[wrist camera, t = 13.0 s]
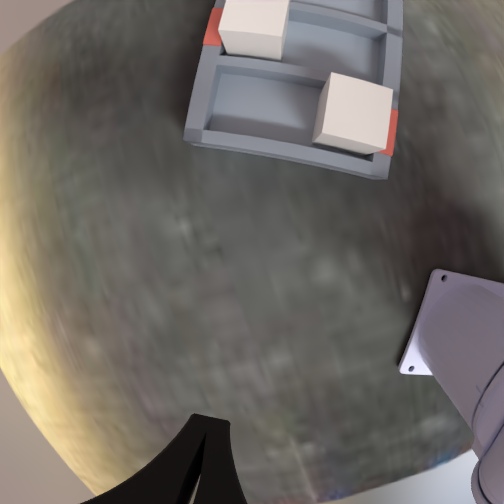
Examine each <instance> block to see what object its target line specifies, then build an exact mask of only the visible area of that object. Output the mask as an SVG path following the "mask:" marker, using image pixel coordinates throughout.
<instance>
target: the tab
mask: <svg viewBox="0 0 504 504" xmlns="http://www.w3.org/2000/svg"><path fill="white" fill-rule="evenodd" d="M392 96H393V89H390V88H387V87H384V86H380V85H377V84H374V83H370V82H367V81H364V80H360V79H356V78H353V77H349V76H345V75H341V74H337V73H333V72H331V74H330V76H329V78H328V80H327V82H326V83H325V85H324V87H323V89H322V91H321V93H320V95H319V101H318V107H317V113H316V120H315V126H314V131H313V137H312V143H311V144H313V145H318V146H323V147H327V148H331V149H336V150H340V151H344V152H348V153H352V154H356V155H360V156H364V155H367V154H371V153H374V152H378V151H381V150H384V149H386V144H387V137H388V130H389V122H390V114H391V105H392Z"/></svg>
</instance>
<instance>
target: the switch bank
mask: <svg viewBox="0 0 504 504" xmlns="http://www.w3.org/2000/svg"><path fill="white" fill-rule="evenodd" d="M225 3H226V0H216V2H215V5H214V8H213V9H212V12H211V15H210V19H209V22H208V26H207V30H206V33H205V37H204V41H203V49H202V53H201V57H200V61H199V65H198V69H197V74H196V78H195V82H194V87H193V91H192V96H191V100H190V105H189V110H188V115H187V120H186V125H185V130H184V135H183V141H185V142H187V143H190V144H192V145H194V146H201V147H209V148H216V149H223V150H230V151H236V152H243V153H249V154H255V155H261V156H267V157H272V158H278V159H283V160H288V161H293V162H298V163H303V164H308V165H313V166H318V167H322V168H327V169H331V170H336V171H340V172H344V173H348V174H353V175H357V176H361V177H365V178H369V179H373V180H384V179H388V173H389V167H390V161H391V156H393V150H394V143H395V135H396V128H397V120H398V110H397V109H398V99H399V88H400V76H401V61H402V38H403V0H292V2H291V1H290V6H289V20H288V28H287V34H286V39H285V44H284V50H283V55H282V60H281V63H279V62H273V61H266V60H259V59H251V58H242V57H232V56H228V54H227V52H226V49H225V46H224V44H223V41H222V39H221V36H220V34H219V31H218V28H219V24H220V21H221V17H222V13H223V10H224V6H225ZM331 72H333V73H337V74H341V75H345V76H349V77H353V78H356V79H360V80H364V81H367V82H370V83H374V84H377V85H380V86H384V87H387V88H390V89H393V96H392V105H391V114H390V122H389V130H388V137H387V144H386V149H384V150H381V151H378V152H374V153H371V154H367V155H364V156H360V155H356V154H352V153H348V152H344V151H340V150H336V149H331V148H327V147H323V146H318V145H313V144H311V143H312V137H313V131H314V126H315V120H316V113H317V107H318V101H319V95H320V93H321V91H322V89H323V87H324V85H325V83H326V82H327V80H328V78H329V76H330V74H331Z"/></svg>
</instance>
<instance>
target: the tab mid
mask: <svg viewBox="0 0 504 504" xmlns="http://www.w3.org/2000/svg"><path fill="white" fill-rule="evenodd" d="M289 6H290V0H226V3H225V6H224V10H223V13H222V17H221V21H220V24H219V28H218V31H219V34H220V36H221V39H222V41H223V44H224V46H225V49H226V52H227V54H228V56H232V57H242V58H251V59H259V60H266V61H273V62H279V63H281V60H282V55H283V50H284V44H285V39H286V34H287V28H288V20H289Z"/></svg>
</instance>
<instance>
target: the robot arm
mask: <svg viewBox="0 0 504 504" xmlns="http://www.w3.org/2000/svg"><path fill="white" fill-rule="evenodd" d="M443 275H445V278H444V279H443V280H441V278H442V276H443ZM410 366H412V368H410V369H409V367H410ZM398 369H399V371H400V372H401V373H402V374H417V375H433V376H434V377H435V378H436V380H437V381H438V383H439V384H440V385H441V387H442V388H443V389H444V391H445V392H446V394H447V395H448V397H449V398H450V399H451V401H452V402H453V404H454V405H455V407H456V408H457V409H458V411H459V412H460V414H461V415H462V417H463V418H464V420H465V421H466V423H467V424H468V426H469V427H470V429H471V430H472V432H473V433H474V435H475V440H474V443H473V445H472V449H473V451H474V452H475V454H476V455H477V457H478V459H479V461H478V462H477V464H476V466H475V468H474V470H473V473H472V477H471V489H472V493H473V497H474V499H475V501H476V503H477V504H504V283H500V282H495V281H491V280H487V279H482V278H478V277H473V276H469V275H464V274H460V273H455V272H451V271H446V270H442V269H435V270H433V272H432V273H431V276H430V279H429V282H428V286H427V289H426V292H425V296H424V299H423V302H422V305H421V308H420V311H419V314H418V317H417V320H416V322H415V325H414V328H413V331H412V333H411V336H410V339H409V341H408V344H407V346H406V349H405V351H404V354H403V356H402V359H401V361H400V364H399V366H398ZM200 474H201V475H200ZM199 476H200V481H199V485H198V488H197V492H196V496H195V499H194V503H193V504H247V502H246V499H245V497H244V494H243V492H242V489H241V486H240V483H239V480H238V476H237V473H236V469H235V465H234V460H233V456H232V450H231V443H230V422H229V421H228V420H223V419H218V418H213V417H208V416H204V415H199V414H195V413H194V414H192V415H191V416H190V418H189V420H188V421H187V423H186V424H185V425H184V427H183V428H182V429H181V431H180V432H179V433H178V434H177V436H176V437H175V438H174V439H173V440H172V441H171V442H170V443H169V444H168V445H167V447H166V448H165V449H164V450H163V451H162V452H161V453H159V454H158V455H157V456H156V457H155V458H154V459H153V460H152V461H151V462H150V463H148V464H147V465H146V466H145V467H144V468H142V469H141V470H140V471H138V472H137V473H136V474H134V475H133V476H132V477H130V478H129V479H127V480H126V481H124V482H122V483H121V484H119V485H118V486H116V487H114V488H112V489H111V490H109V491H107V492H105V493H103V494H101V495H99V496H97V497H95V498H93V499H90V500H88V501H85V502H83V503H80V504H189V503H190V500H191V498H192V495H193V492H194V490H195V487H196V484H197V482H198V479H199Z"/></svg>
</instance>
